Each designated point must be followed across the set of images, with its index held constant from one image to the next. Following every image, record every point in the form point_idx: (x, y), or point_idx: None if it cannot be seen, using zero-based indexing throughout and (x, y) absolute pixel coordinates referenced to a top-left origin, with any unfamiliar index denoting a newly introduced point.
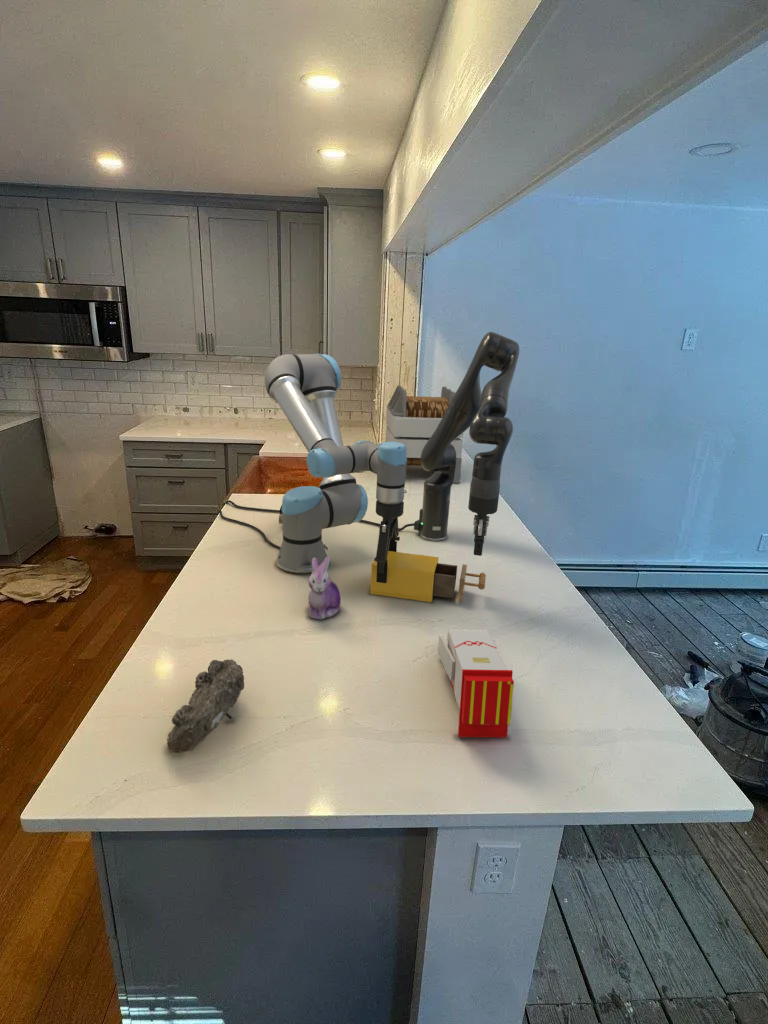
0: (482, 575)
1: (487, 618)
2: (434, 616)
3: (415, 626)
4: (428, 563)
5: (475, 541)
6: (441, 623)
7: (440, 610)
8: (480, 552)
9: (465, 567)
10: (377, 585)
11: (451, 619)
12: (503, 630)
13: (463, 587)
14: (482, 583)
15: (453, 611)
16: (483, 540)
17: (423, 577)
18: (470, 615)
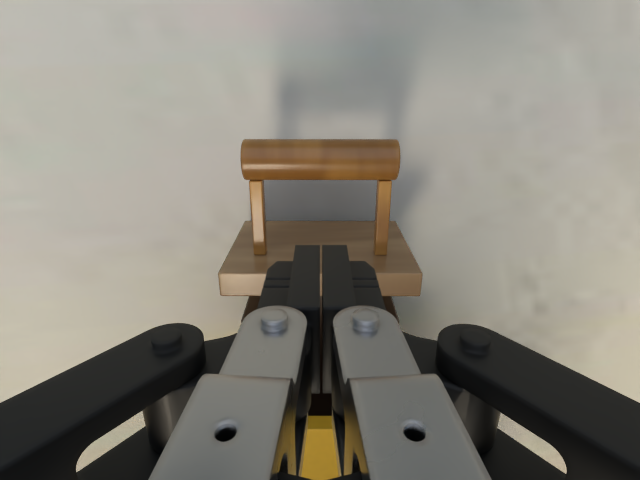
0: (283, 164)
1: (488, 96)
2: (499, 305)
3: (576, 353)
4: (318, 461)
5: (499, 435)
6: (549, 277)
7: (449, 290)
8: (375, 272)
9: (261, 278)
10: None
11: (515, 245)
12: (593, 13)
13: (410, 251)
14: (396, 159)
15: (449, 243)
16: (581, 378)
17: None
18: (472, 174)
